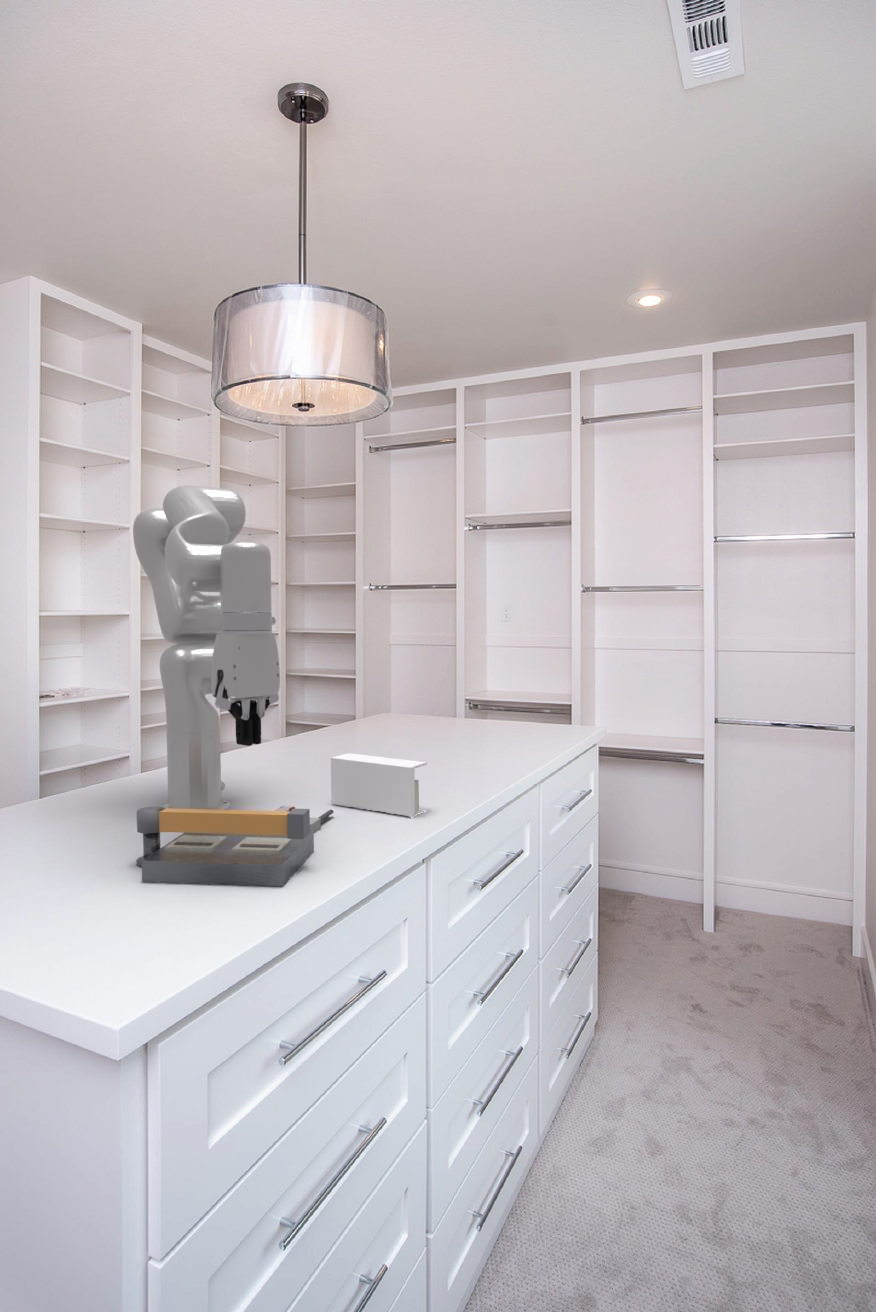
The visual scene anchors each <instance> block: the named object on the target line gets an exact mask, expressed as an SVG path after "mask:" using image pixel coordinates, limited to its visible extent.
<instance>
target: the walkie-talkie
mask: <svg viewBox="0 0 876 1312" xmlns="http://www.w3.org/2000/svg"><path fill="white" fill-rule="evenodd" d="M293 809H296V807H295V806H286V805H285V806H283V805H282V806H280V807H278V808H277V809H275V810H274V811H291V810H293ZM332 814H334V810H333V809H329V810H327V811H326V812H324V813H323V814H321V815H320V816H318V817H310V832H314V833H316V832H318V831H320V830H321V828H322V826H321V825H322V823H323V822H325V821H326V820H327V819H328V818H329V817H330V816H331V815H332Z"/></svg>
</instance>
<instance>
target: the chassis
mask: <svg viewBox="0 0 876 1312" xmlns="http://www.w3.org/2000/svg"><path fill="white" fill-rule="evenodd" d="M314 834H315V832H310V833H309V834H308V835H307V836H306V837H305V839H287V835H252V834H217V833H181V834H180V835H178V836H177V837H175V838H174V839H172V840H171V841H170V842H168V843H166V844H165V845H164V846H162V847H160V849H158V850H157V851H155V852H154V853H152V854H151V855H149V856H148V857H146V858H145V859H143V860H142V867H141V882H142V883H165V884H193V885H195V884H196V885H220V886H221V885H222V886H223V885H224V886H250V887H274V888H275V887H277V888H278V887H279V888H282V887H284V885H285V884H286V883H288V881H289V880H290V879H291V878H292V877H293V875H294V874H296V872H297V871H298V870H299V868H300V867H302V865H303V864H304V863H305V862H306V860H308V858H309V857H310V856H311V855H312V854H313V852H314V851H315V838H314V837H315V835H314ZM290 877H291V878H290ZM289 878H290V879H289Z"/></svg>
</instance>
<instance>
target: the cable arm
mask: <svg viewBox="0 0 876 1312" xmlns="http://www.w3.org/2000/svg"><path fill="white" fill-rule="evenodd" d="M310 818H311V815H310V808H295V809H293V810H291V811H275V810H252V809H251V810H246V809H245V810H244V809H242V810H239V809H230V810H211V809H171V808H164V807H161V806H154V805H153V806H146V807H142V808H141V807H140V808H139V809H138V808H137V810H136V831H137V833H139V834H143V833H157V832H160V833H181V834H183V833H217V834H252V835H287V839H305V837H306V836H307V835H308V834H309V833H310Z"/></svg>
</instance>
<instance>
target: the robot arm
mask: <svg viewBox="0 0 876 1312" xmlns="http://www.w3.org/2000/svg"><path fill="white" fill-rule="evenodd" d="M245 505H246V504H245V503H244V501H243V499H242V497H241V495H239V493H238V492H236V491H234V490H232V489H229V488H222V487H211V486H200V485H179V486H176V487H175V488H172V489H171V490H169V491H168V492H167V493H166V495H165V496H164V498H163V502H162V507H160V508H159V507H158V508H150V509H144V510H143V511H141V512H140V513H138V514H137V516H136V517H135V518H134V521H133V525H132V527H133V528H132V535H133V544H134V545H133V546H134V550H135V553H136V557H137V559H138V561H139V564H140V565H141V567H142V569H143V571H144V573H145V574H146V577H147V579H148V580H149V583H150V585H151V588H152V589H151V590H152V593H153V594H152V595H153V599H154V604H155V605H154V606H155V609H156V613H157V618H158V619H157V620H158V624H159V627H160V628H159V629H160V631H161V634H162V636H163V638H164V639H165V640H166V641H167V642H168V643H171V644H173V645H171V646H169V647H168V648H166V649H165V650H164V651H163V652H162V653H161V655H160V659H159V674H160V679H161V680H160V681H161V684H162V690H163V694H164V696H163V697H164V703H165V720H166V727H165V728H166V760H167V761H166V765H167V766H166V767H167V768H166V769H167V772H166V773H167V803H165V804H162V805H161V806H160V807H164V808H171V809H211V810H231V804H230V803H231V802H229V800H226V799H224V798H222V791H223V790H225V788H226V784H225V782H224V781H222V764H221V761H222V760H221V758H222V757H221V756H222V755H221V721H220V720H221V719H220V716H219V712H218V711H217V710H216V708H219V709H222V710H227V712H228V713H230V715H231V717H232V719H234V720H235V739H236V740H235V742H236V744H237V745H240V746H246V747H249V746H252V745H260V744H262V719H263V718H265V714H266V711H267V709H268V708H269V706H270V705H273V704H275V703H277V702H278V701H279V699H280V697H279V691H280V688H281V686H280V685H281V674H280V673H281V671H280V658H279V649H278V645H277V639H276V635H275V633H273V626H274V625H275V624H276V621H277V620H276V618H275V617H274V616H272V615H273V614H272V557H271V551H270V548H269V546H267V545H265V544H263V543H261V542H251V541H238V542H237V541H236V542H234V540H235V539H236V538H237V537H238V535H239V534H240V533H241V532H242V531H243V528H244V525H245V522H246V517H247V516H246V515H247V513H246V506H245ZM202 593H220V595H206V594H202ZM210 694H211V695H212V697H214V698H216V699H215V703H214V705H215V707H216V708H215V707H214V706H213V704H212V703H210V701H209V700H208V698H206V696H207V695H210Z"/></svg>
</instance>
